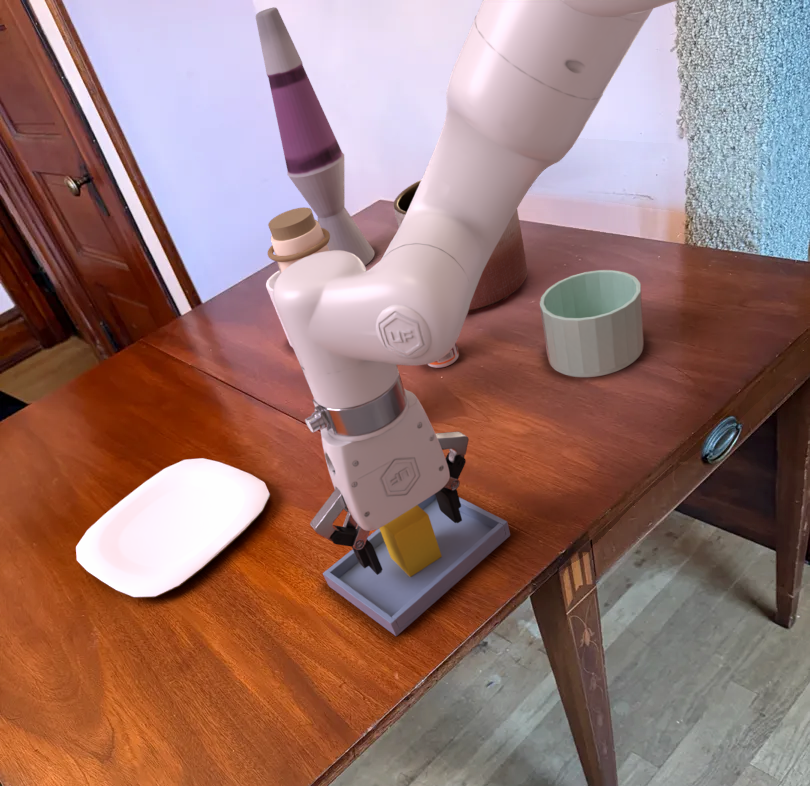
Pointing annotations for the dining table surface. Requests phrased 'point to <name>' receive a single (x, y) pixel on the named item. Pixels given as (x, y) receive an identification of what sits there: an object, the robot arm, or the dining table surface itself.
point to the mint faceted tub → (593, 323)
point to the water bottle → (296, 237)
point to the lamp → (308, 138)
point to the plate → (171, 527)
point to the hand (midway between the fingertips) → (412, 540)
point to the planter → (503, 264)
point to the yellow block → (411, 541)
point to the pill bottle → (446, 358)
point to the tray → (411, 596)
